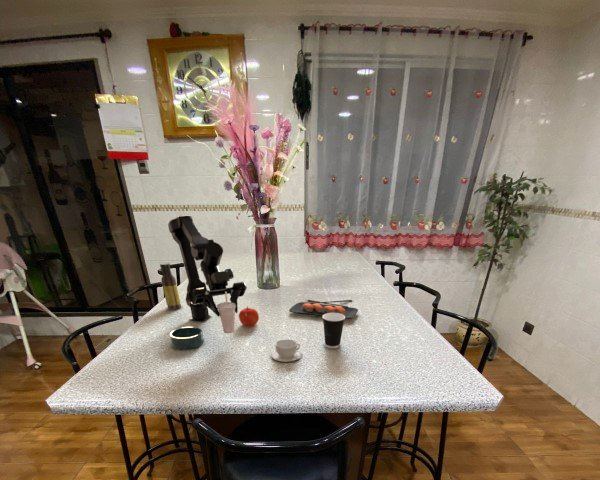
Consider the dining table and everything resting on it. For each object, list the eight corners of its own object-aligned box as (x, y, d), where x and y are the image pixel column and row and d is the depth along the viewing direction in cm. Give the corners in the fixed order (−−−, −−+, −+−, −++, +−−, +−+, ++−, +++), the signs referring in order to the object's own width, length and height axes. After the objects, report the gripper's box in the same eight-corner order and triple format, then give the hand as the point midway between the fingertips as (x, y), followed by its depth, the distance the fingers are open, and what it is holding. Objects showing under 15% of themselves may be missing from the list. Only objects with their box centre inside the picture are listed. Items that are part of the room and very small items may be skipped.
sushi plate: (286, 315, 158) (286, 306, 156) (310, 296, 182) (310, 289, 180) (350, 323, 149) (351, 314, 147) (367, 302, 172) (368, 294, 170)
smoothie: (241, 329, 130) (237, 290, 122) (232, 335, 125) (228, 295, 117) (225, 327, 132) (221, 288, 124) (216, 333, 127) (211, 293, 119)
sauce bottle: (178, 304, 171) (169, 261, 161) (183, 308, 167) (175, 263, 157) (165, 307, 168) (155, 263, 157) (170, 311, 164) (161, 265, 153)
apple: (256, 329, 144) (254, 309, 139) (237, 328, 145) (235, 308, 141) (261, 322, 150) (260, 303, 146) (243, 321, 152) (241, 302, 147)
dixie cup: (318, 348, 127) (319, 318, 122) (325, 340, 134) (326, 311, 128) (339, 351, 125) (341, 321, 119) (346, 343, 131) (348, 314, 125)
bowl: (165, 347, 129) (163, 335, 127) (185, 336, 138) (182, 325, 135) (191, 352, 125) (189, 340, 123) (209, 340, 134) (208, 329, 132)
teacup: (279, 365, 116) (278, 352, 114) (267, 353, 124) (266, 341, 121) (306, 359, 120) (306, 346, 118) (293, 348, 128) (292, 335, 125)
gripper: (188, 264, 115) (205, 307, 113) (242, 257, 123) (258, 297, 121) (185, 283, 125) (200, 323, 123) (235, 276, 133) (250, 313, 131)
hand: (228, 314), depth 124 cm, fingers closed on smoothie, 6 cm apart
